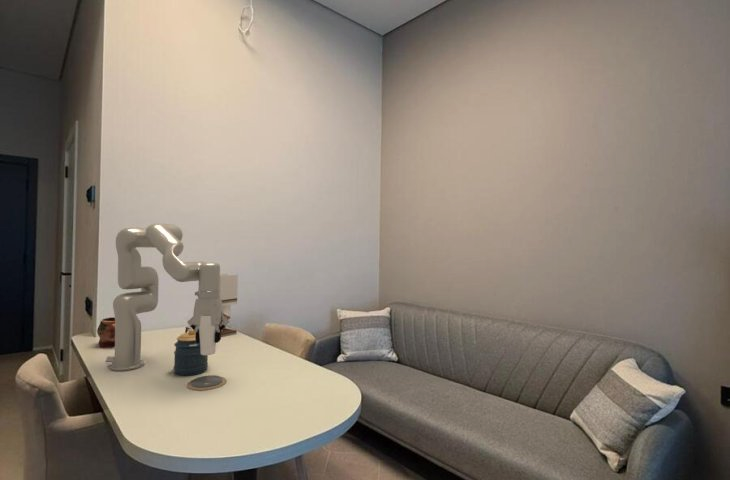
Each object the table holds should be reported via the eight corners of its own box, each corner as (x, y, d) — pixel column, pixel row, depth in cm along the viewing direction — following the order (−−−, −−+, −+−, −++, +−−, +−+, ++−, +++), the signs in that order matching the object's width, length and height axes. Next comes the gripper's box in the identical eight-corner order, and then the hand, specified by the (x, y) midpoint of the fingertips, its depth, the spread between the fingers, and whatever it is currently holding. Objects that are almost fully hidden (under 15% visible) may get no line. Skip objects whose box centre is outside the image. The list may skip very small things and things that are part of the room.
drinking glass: (210, 356, 140) (211, 316, 141) (194, 355, 142) (194, 315, 142) (220, 351, 147) (221, 313, 147) (205, 350, 148) (205, 312, 149)
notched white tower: (219, 337, 214) (221, 275, 214) (208, 335, 220) (209, 274, 220) (236, 333, 223) (237, 274, 224) (225, 331, 229) (226, 273, 230)
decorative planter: (131, 347, 191) (132, 319, 192) (103, 352, 182) (104, 323, 182) (118, 340, 204) (119, 314, 204) (91, 344, 195) (92, 317, 195)
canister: (173, 378, 149) (174, 333, 149) (173, 368, 161) (174, 326, 161) (209, 373, 155) (210, 330, 155) (206, 364, 167) (207, 324, 167)
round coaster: (180, 390, 137) (180, 387, 137) (196, 376, 151) (196, 373, 151) (219, 390, 137) (219, 387, 137) (231, 377, 151) (231, 374, 151)
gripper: (181, 296, 141) (180, 344, 140) (228, 296, 141) (227, 344, 141) (190, 293, 148) (189, 339, 148) (234, 294, 149) (234, 339, 148)
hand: (208, 341), depth 144 cm, fingers closed on drinking glass, 6 cm apart
